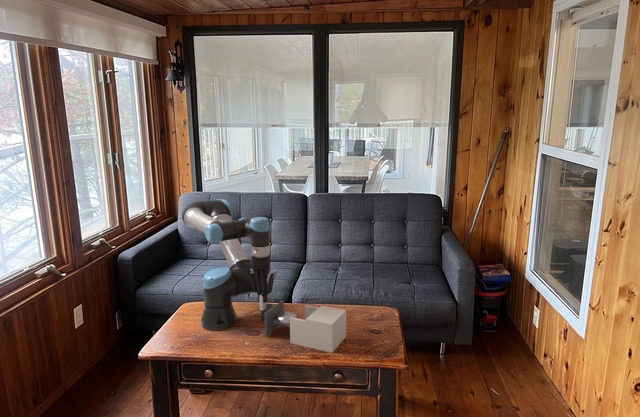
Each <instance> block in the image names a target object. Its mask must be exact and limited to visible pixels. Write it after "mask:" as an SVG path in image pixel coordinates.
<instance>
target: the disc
mask: <svg viewBox="0 0 640 417" xmlns="http://www.w3.org/2000/svg"><path fill="white" fill-rule="evenodd" d="M291 317H293V318H297V317H298V316H297V314H296V313H295V312H293V311H284V312H281V313H279V314H278V315H277V322H278V323H280V324H284V325H283V326H286V325H288V324H290V318H291ZM297 319H298V318H297Z"/></svg>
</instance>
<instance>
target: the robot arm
mask: <svg viewBox="0 0 640 417" xmlns="http://www.w3.org/2000/svg"><path fill="white" fill-rule="evenodd" d="M232 210H233V208H232V205H231V204H230V202H229V201H227V200H226V199H223V198H222V199H220V198H216V199H212V200H203V201H202V200H201V201H195V202H192V203H189V204H187V205H186V206H185V208H183V211H182V213H181V220H182V221H183V223H184V225H186V226H187V227H189V228H191V229H197V230H198V231H200V232H202V233H204V235H205V236H204V237H205V238H206V240H207V241H208V243H212V244H214V243H219V245H220V248H221V249H222V252H223V255H224V256H225V259H226V261H227V264H228V266H229V268H228V267H217V268H213V269H210V270H208V271H207V272H206V273H205V274H204V276H203V280H202V281H203V284H202V287H203V288H202V289H203V299H204V309H203V313H202V316H201V327H202V328H203V329H206V330H208V331H209V330H210V331H222V330H227V329H230V328H232V327H234V326H235V325H236V324H237V322H238V315H237V313H236V311H235V308H234V306H233V305H234V304H233V298H236V297H239V296H240V297H241V296H243V295H248V294H253V293H255V294H257V301H258V302H259V311H261V310H262V311H263V310H264V309H266V304H267V303H268V295H269V294H271V293H272V291H273V286H274V280H275V277H276V275H277V272H276V271H273V270H272V268H271V255H270V254H271V245H270V244H271V242H270V241H271V240H270V239H271V236H270V229H271V228H270V221H269V218H268V217H264V216H263V217H262V216H256V217H255V216H254V217H252V218H250V217H241V218H239V219H238V220H233V218H234V217H233V216H234V212H233V211H232ZM232 220H233V221H232ZM244 238H249V239H250V240H251V241H250V242H251V244H250V245H251V259H250V258H248V257H247V255H246V252H245V251H244V248H243V247H242V245H241V242H240V241H239V239H244Z"/></svg>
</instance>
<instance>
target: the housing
mask: <svg viewBox="0 0 640 417" xmlns="http://www.w3.org/2000/svg"><path fill="white" fill-rule="evenodd" d="M304 312H305V314H304V318H305V319H302V318H293V317H291V318H290V326H289V336H290V337H289V339H290V340H289V341H290V344H293V345H296V346H300V347H305V348H311V349H314V350H317V351H323V352H327V353H332V354H333V353H334V352H335V350H336V349H337V348H339V346H340V344H342V342H343V341H344V340H345V339H346V337H347V309H342V308H337V307H331V306H326V305H320V306H319V307H318V306H314V305H309V304H306V305H305V306H304Z"/></svg>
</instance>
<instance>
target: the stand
mask: <svg viewBox="0 0 640 417" xmlns="http://www.w3.org/2000/svg"><path fill="white" fill-rule="evenodd" d="M272 307H274V304H272V303H266V309H264V310H263V311H262V310H260V320H261V321H263V322H265V312H267V311H268V310H269V309H271V308H272Z"/></svg>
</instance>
